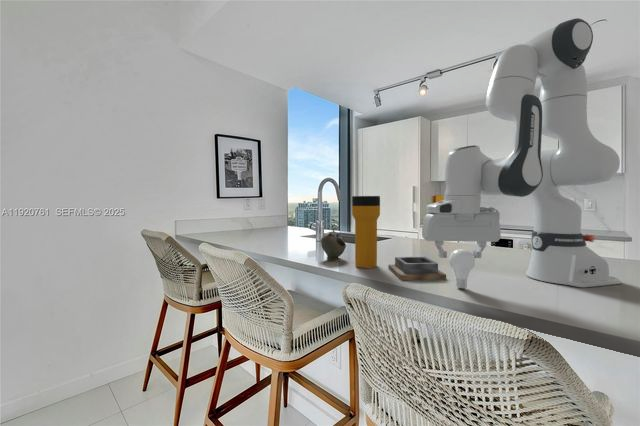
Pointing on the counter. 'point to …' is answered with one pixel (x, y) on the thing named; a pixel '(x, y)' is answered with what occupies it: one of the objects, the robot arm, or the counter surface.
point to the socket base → (416, 269)
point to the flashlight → (366, 229)
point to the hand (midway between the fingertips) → (459, 257)
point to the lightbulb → (462, 266)
